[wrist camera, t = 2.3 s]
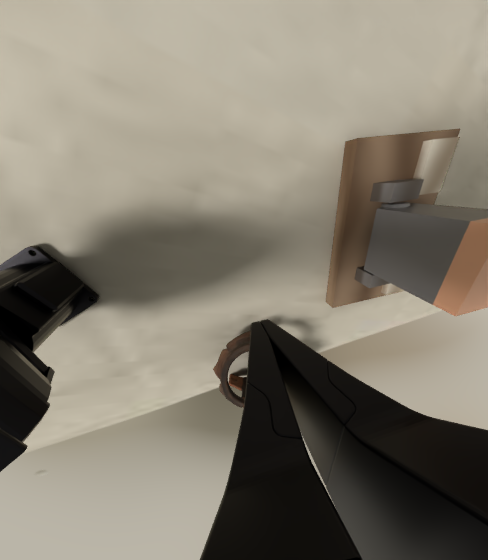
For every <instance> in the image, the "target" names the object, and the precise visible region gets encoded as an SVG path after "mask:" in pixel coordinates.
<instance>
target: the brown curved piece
mask: <svg viewBox="0 0 488 560" xmlns="http://www.w3.org/2000/svg"><path fill="white" fill-rule="evenodd" d="M250 334H251V331H248V332H246V333H244V334H241V335H240V336H238V337H236V338H234V339H233V340H232V341H230V342H229V343H228V344H227V345H226V347H227V349H224V350H222V352H221V354H220V357H219V360H218V362H217V364H216V366H215V367H214V369H213V370H214V371H215V374H216V375H217V377H218V378H219V379H220V381H221V384H220V386H219V387H220V392H221V393H222V394H223V395H224V396H225V397H226V399H228V400H229V401H231V402H232V403H233V404H235V405H237V406H239V407H243V408H244V402H245V394H246V384H247V377H239V376H235V375H233V374H230V377H229V383H228V371H229V368H230V365H231V364H232V362H233V361H234V360H235V359H236V358H237V357H238V356H240V355H241V354H243V353H245V352H248V351H249V347H250ZM229 385H230V386H233V387H235V388H237V389H239V390H241V391H242V397H239V396H237V395H236V394H235V393H234V392H233V391H232V390H231V388H230V386H229Z"/></svg>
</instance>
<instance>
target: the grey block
mask: <svg viewBox="0 0 488 560" xmlns="http://www.w3.org/2000/svg"><path fill="white" fill-rule="evenodd" d="M364 270H366V271H368V272H369V273H371V274H373V275H375V276H377V277H379V278H381V279H383V280H385V281H387V282H389V283H391V284H393V285H395V286H397V287H399V288H401V289H403V290H405V291H407V292H409V293H411V294H413V295H415V296H417V297H419V298H421V299H422V300H424V301H426V302H428V303H430V304H432V305H434V306H436V307H438V308H440V309H442V310H444V311H446V312H448V313H450V314H452V315H454V316H458V315H462V314H466V313H469V312H473V311H476V310H480V309H483V308H487V307H488V210H487V209H476V208H464V207H453V206H441V205H430V204H419V203H409V202H393V203H382V204H381V208H377V210H376V215H375V220H374V224H373V229H372V233H371V238H370V243H369V247H368V252H367V256H366V261H365V266H364Z"/></svg>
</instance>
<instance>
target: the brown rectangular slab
mask: <svg viewBox="0 0 488 560" xmlns="http://www.w3.org/2000/svg"><path fill="white" fill-rule="evenodd" d="M459 131H460V129H452V130H441V131H430V132H420V133H409V134H398V135H388V136H377V137H366V138H357V139H353V140H350V141H346V142H345V150H344V158H343V166H342V174H341V182H340V190H339V199H338V207H337V215H336V223H335V231H334V239H333V247H332V255H331V263H330V271H329V279H328V287H327V296H326V302H327V303H328V304H329V305H330V306H331V307H332V308H334V307H338V306H343V305H347V304H351V303H355V302H359V301H363V300H368V299H372V298H376V297H380V296H384V295H389V294H394V293H398V292H402V291H405V290H403V289H401V288H399V287H397V286H395V285H393V284H391V283H389V282H387V281H385V280H383V279H381V278H379V277H377V276H375V275H373V274H371V273H369V272H368V271H366V270H364V266H365V261H366V256H367V252H368V247H369V243H370V238H371V233H372V229H373V224H374V220H375V215H376V210H377V208H381V204H382V203H393V202H409V203H419V204H430V205H434V203H435V200H436V197H437V194H438V192H440V191H441V188H442V186H443V183H444V180H445V177H446V174H447V171H448V169H449V166H450V163H451V160H452V157H453V155H454V152H455V149H456V146H457V143H458V140H459V138H460V137H458V134H459Z"/></svg>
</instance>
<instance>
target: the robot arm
mask: <svg viewBox="0 0 488 560" xmlns="http://www.w3.org/2000/svg"><path fill="white" fill-rule="evenodd" d="M32 250H33V251H35V252H36V254H34V253H33V252H32ZM90 297H93V298H94V299H92V298H90ZM98 300H99V295H98V294H97V293H95V292H94V291H93V290H92V289H90V288H89V287H88V286H87V285H85V284H84V283H83V282H82V281H81V280H80V279H78V278H77V277H76V276H75V275H73V274H72V273H71V272H70V271H69V270H67V269H66V268H65V267H64V266H62V265H61V264H60V263H58V262H57V261H56V260H54V259H53V258H52V257H51V256H50V255H48V254H47V253H46V252H45V251H43V250H42V249H41V248H39V247H37V246H30V247H27V248H25V249H24V250H22V251H21V252H19V253H18V254H16V255H15V256H13V257H12V258H10V259H9V260H7V261H6V262H4V263H3V264H1V265H0V472H1V471H2V470H3V469H4V468H5V467H6V466H8V465H9V464H10V463H11V462H12V461H14V460H15V459H16V458H17V457H19V456H20V455H21V454H22V453H23V452H24V451H25V450H26V449H27V445H25V444H24V443H23V442H24V440H25V439H26V438H27V437H28V436H29V435H30V433H31V432H32V431H33V430H34V428H35V427H36V426H37V425H38V424H39V422H40V421H41V420H42V418H43V416H44V415H45V413H46V412H47V410H48V408H49V406H50V404H49V403H48V402H47V401H48V398H49V395H50V391H51V385H50V384H51V381H52V378H53V375H54V370H53V369H52V368H51V367H47V366H46V365H45V364H44V363H43V362H42V361H41V360H40V359H39V358H38V357H37V356H36V355H35V354H34V353H33V352H34V351H35V350H36V349H37V348H38V347H39V346H40V345H41V344H42V343H43V342H44V341H45V340H46V339H47V338H48V337H49V336H50V335H51V334H52V333H53V332H54V331H55V329H56V328H57V327H58V326H60V325H61V324H63V323H64V322H66V321H67V320H69V319H71V318H72V317H74V316H75V315H77V314H79V313H80V312H82V311H83V310H85V309H86V308H88V307H90V306H91V305H93V304H94V303H96V302H97V301H98ZM300 431H301V432H300ZM301 433H302V435H301ZM302 436H303V438H304V440H305V442H306V444H307V446H308V448H309V451H310V453H311V455H312V457H313V459H314V462H315V464H316V466H317V468H318V470H319V472H320V475H321V477H322V479H323V481H324V483H325V485H326V488H327V490H328V492H329V494H330V496H331V498H332V500H331V499H330V497H329V495H328V493H327V491H326V489H325V487H324V485H323V483H322V481H321V480H320V478H319V476H318V474H317V472H316V470H315V468H314V466H313V464H312V462H311V460H310V458H309V455H308V452H307V450H306V447H305V444H304V441H303V438H302ZM332 501H333V502H332ZM333 503H334V504H333ZM334 505H335V506H334ZM335 507H336V508H335ZM336 509H337V510H336ZM200 560H488V430H484V429H480V428H476V427H471V426H466V425H462V424H458V423H454V422H449V421H445V420H440V419H436V418H432V417H429V416H426V415H423V414H421V413H418V412H416V411H413V410H411V409H409V408H407V407H405V406H404V405H401V404H400V403H398V402H396V401H395V400H393V399H391V398H390V397H388V396H386V395H384V394H383V393H380V392H379V391H377V390H375V389H374V388H372V387H370V386H368V385H366V384H365V383H363V382H362V381H359V380H358V379H356V378H355V377H353V376H351V375H350V374H348V373H347V372H345V371H344V370H342V369H341V368H339V367H338V366H336V365H335V364H333V363H332V362H330V361H327V359H326V358H324V357H323V356H321V355H320V354H318V353H317V352H315V351H314V350H313V349H311V348H310V347H308V346H307V345H305V344H304V343H302V342H301V341H299V340H298V339H296V338H295V337H293V336H292V335H291V334H289V333H288V332H286V331H285V330H283V329H282V328H280V327H279V326H277V325H276V324H274V323H273V322H272V321H270V320H268V319H266V320H262V321H260V322H259V321H257V322H253V323H252V324H251V334H250V347H249V359H248V371H247V384H246V394H245V402H244V410H243V415H242V420H241V426H240V430H239V434H238V439H237V444H236V448H235V453H234V457H233V462H232V466H231V471H230V474H229V478H228V482H227V486H226V489H225V492H224V495H223V498H222V501H221V504H220V507H219V509H218V512H217V515H216V517H215V520H214V523H213V525H212V528H211V531H210V533H209V536H208V539H207V542H206V544H205V547H204V550H203V553H202V555H201V558H200Z"/></svg>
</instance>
